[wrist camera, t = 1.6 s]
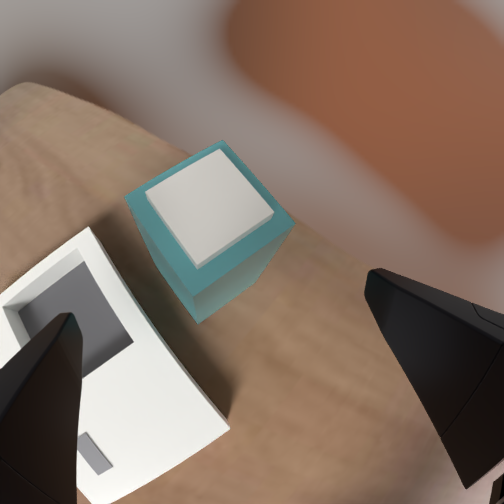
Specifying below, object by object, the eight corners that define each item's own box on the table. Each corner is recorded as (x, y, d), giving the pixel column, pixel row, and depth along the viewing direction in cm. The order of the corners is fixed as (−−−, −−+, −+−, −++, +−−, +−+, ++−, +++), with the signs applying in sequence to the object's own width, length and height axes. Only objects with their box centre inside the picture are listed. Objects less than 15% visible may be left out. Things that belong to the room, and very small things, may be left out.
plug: (255, 282, 20) (300, 216, 11) (197, 324, 19) (192, 293, 10) (213, 228, 21) (223, 130, 12) (156, 266, 20) (120, 188, 10)
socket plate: (227, 419, 17) (230, 428, 15) (107, 494, 14) (97, 510, 12) (99, 240, 20) (88, 225, 17) (-3, 320, 17) (-24, 314, 14)
